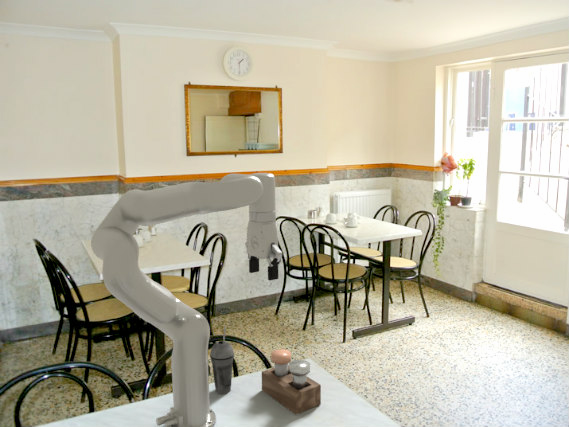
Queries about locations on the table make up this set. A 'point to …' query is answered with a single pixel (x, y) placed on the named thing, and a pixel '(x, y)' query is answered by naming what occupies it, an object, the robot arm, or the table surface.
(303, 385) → the steel plug
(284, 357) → the peach domed piece
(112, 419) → the table surface
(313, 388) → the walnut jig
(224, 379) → the beverage cup
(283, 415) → the table surface
